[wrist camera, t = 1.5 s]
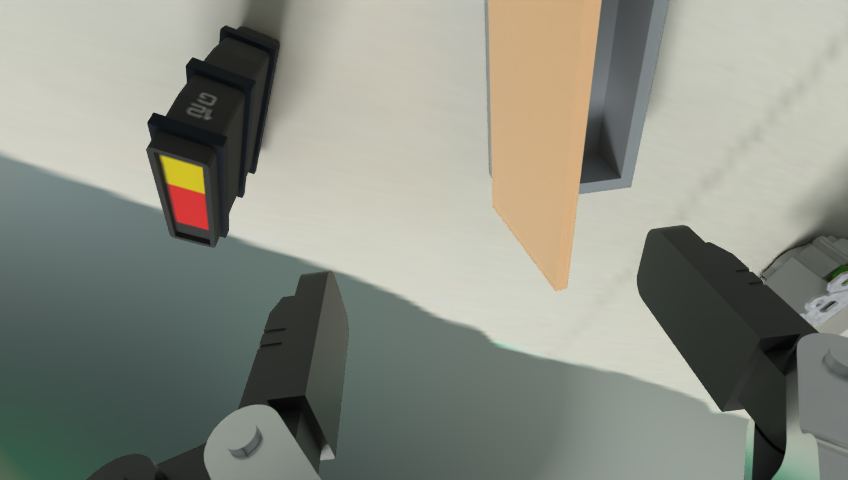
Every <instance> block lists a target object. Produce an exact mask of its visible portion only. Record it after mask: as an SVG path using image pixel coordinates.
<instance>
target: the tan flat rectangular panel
mask: <svg viewBox="0 0 848 480" xmlns="http://www.w3.org/2000/svg"><path fill="white" fill-rule="evenodd" d="M601 2H602V0H488V19H489V65H490V110H491V156H492V202H493V208H494V209H495V211H496V212H497V213H498V215H499V216H500V217H501V219H502V220H503V221H504V223H505V224H506V225H507V227H508V228H509V229H510V231H511V232H512V233H513V235H514V236H515V237H516V239H517V240H518V241H519V243H520V244H521V245H522V247H523V248H524V250H525V251H526V252H527V254H528V255H529V256H530V258H531V259H532V260H533V262H534V263H535V264H536V266H537V267H538V268H539V270H540V271H541V272H542V274H543V275H544V276H545V278H546V279H547V280H548V282H549V283H550V284H551V286H552V287H553V288H554V290H555V291H558V290H562V289H566V288H567V285H568V277H569V268H570V260H571V252H572V243H573V235H574V227H575V218H576V210H577V202H578V194H579V185H580V177H581V169H582V160H583V152H584V144H585V135H586V127H587V119H588V110H589V102H590V94H591V85H592V77H593V69H594V60H595V52H596V44H597V35H598V27H599V19H600V10H601Z"/></svg>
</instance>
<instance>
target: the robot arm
mask: <svg viewBox="0 0 848 480" xmlns="http://www.w3.org/2000/svg"><path fill="white" fill-rule="evenodd" d="M637 286H638V291H639V294H640V296H641V298H642V300H643V301H644V303H645V304H646V305H647V307H648V308H649V310H650V311H651V312H652V314H653V315H654V317H655V318H656V320H657V321H658V322H659V324H660V325H661V327H662V328H663V329H664V331H665V332H666V334H667V335H668V336H669V338H670V339H671V341H672V342H673V344H674V345H675V346H676V348H677V349H678V351H679V352H680V353H681V355H682V356H683V358H684V359H685V360H686V362H687V363H688V365H689V366H690V368H691V369H692V370H693V372H694V373H695V375H696V376H697V377H698V379H699V380H700V382H701V383H702V385H703V386H704V387H705V389H706V390H707V392H708V393H709V394H710V396H711V397H712V399H713V400H714V401H715V403H716V404H717V406H718V407H719V409H720V410H721V411H722V412H725V411H733V410H741V409H745V410H746V411H747V413H748V414H749V415H750V416H751V420H750V421H749V423H748V426H747V437H746V452H745V469H744V480H848V338H847V337H844V336H840V335H836V334H829V333H819V332H818V331H817V330H816V329H815V328H814V327H813V326H812V325H810V324H809V323H808V322H807V321H806V320H805V319H804V318H803V317H802V316H801V315H799V314H798V313H797V312H796V311H795V310H794V309H793V308H792V307H791V306H790V305H788V304H787V303H786V302H785V301H784V300H783V299H782V298H781V297H780V296H778V295H777V294H776V293H775V292H774V291H773V290H772V289H771V288H770V287H769V286H767V285H764V284H763V281H762V280H761V279H760V278H759V277H758V276H756V275H755V274H754V273H753V272H749V268H748V267H746V266H745V265H744V264H743V263H742V262H741V261H740V260H739V259H738V258H737V257H735V256H734V255H733V254H732V253H730V252H728V251H726V250H724V249H722V248H720V247H718V246H716V245H714V244H712V243H711V242H707V243H705V242H704V241H703V240H702V239H701V238H700V237H699V236H698V235H697V234H696V233H695V232H694V231H692V230H691V229H690V228H689V227H688V226H685V225H679V226H672V227H664V228H657V229H652V230H650V231H649V232H648V234H647V237H646V241H645V245H644V249H643V253H642V258H641V262H640V266H639V270H638V274H637ZM348 337H349V326H348V318H347V314H346V310H345V307H344V304H343V301H342V297H341V294H340V291H339V288H338V285H337V282H336V279H335V276H334V274H333V272H332V271H324V272H317V273H309V274H302V275H301V276H300V279H299V282H298V286H297V290H296V293H295V296H289V297H283V298H282V299H281V300H280V301H279V303H278V304H277V305H276V306H275V308H274V309H273V310H272V311H271V312H270V314H269V317H268V320H267V323H266V326H265V329H264V334H263V336H262V338H261V341H260V349H258V351H257V354H256V357H255V360H254V363H253V366H252V369H251V372H250V375H249V378H248V381H247V384H246V387H245V390H244V394H243V396H242V399H241V403H240V405H239V408H238V410H237V411H235V412H233V413H232V414H230V415H229V416H227V417H226V418H225V419H224V420H223V421H222V422H220V423H219V425H218V426H217V427H216V428H215V429H214V431H213V432H212V434H211V435H210V437H209V439H208V441H207V442H206V443H204V444H202V445H200V446H198V447H196V448H194V449H192V450H189V451H187V452H185V453H182V454H180V455H178V456H175V457H173V458H171V459H168V460H166V461H164V462H162V463H159V464H157V465H156V464H155V463H154V462H153V461H152V460H151V459H150V458H148V457H147V456H144V455H141V454H132V455H126V456H122V457H120V458H117V459H115V460H113V461H111V462H109V463H107V464H106V465H104V466H103V467H101V468H100V469H99V470H97V471H96V472H95V473H93V474H92V475H91V476H90V477H89V478H88V479H87V480H321V479H320V478H319V476H318V472H319V465H320V460H328V459H335V458H336V449H337V439H338V430H339V421H340V411H341V402H342V393H343V384H344V374H345V365H346V356H347V346H348Z"/></svg>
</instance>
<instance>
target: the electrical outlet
mask: <svg viewBox="0 0 848 480" xmlns="http://www.w3.org/2000/svg"><path fill="white" fill-rule="evenodd" d="M812 243H813V244H811V243H808V244H807V245H805V246H801V247H797V248H794V249H791V250H789V251H787V252H786V253H784V254H783V255H781V256H780V257H779V258H778V259H777V260H775V262H774V263H773V264H772V265H771V266H770V267H769V268H768V269H767V270H766V271H765V272H764V273H763V274H762V275H763V276H764V277H765V278H766V279H767V280H766V281H765V282H764V283H763V284H764V285H767V286H769V287H770V288H771V289H772V290H773V291H774V292H775V293H776V294H777V295H778V296H780V297H781V298H782V299H783V300H784V301H785V302H786V303H787V304H788V305H790V306H791V307H792V308H793V309H794V310H795V311H796V312H797V313H798V314H799V315H801V316H802V317H803V318H804V319H805V320H806V321H807V322H808V323H809V324H810V325H812V326H813V327H814V328H815V329H816V330H817V331H818V332H819V333H829V334H836V335H840V336H844V337H847V338H848V240H847V239H844V238H843V237H840V238H835V237H834V236H832V235H830V236H828V237H824V236H821V237H819V236H818V237H817V238H816V239H815V240H814V241H813V242H812Z"/></svg>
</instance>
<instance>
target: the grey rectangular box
mask: <svg viewBox="0 0 848 480" xmlns="http://www.w3.org/2000/svg"><path fill="white" fill-rule="evenodd" d="M668 3H669V0H602V2H601V10H600V19H599V27H598V35H597V44H596V52H595V60H594V69H593V77H592V85H591V94H590V102H589V110H588V119H587V127H586V135H585V144H584V152H583V160H582V169H581V177H580V185H579V194H584V193H591V192H599V191H606V190H614V189H621V188H629V187H631V184H632V180H633V175H634V170H635V165H636V160H637V155H638V150H639V145H640V140H641V135H642V131H643V126H644V121H645V116H646V111H647V106H648V101H649V96H650V91H651V87H652V82H653V77H654V72H655V67H656V62H657V57H658V52H659V47H660V42H661V38H662V33H663V28H664V23H665V18H666V13H667V8H668ZM485 36H486V74H487V112H488V150H489V173H490V176H491V178H492V156H491V110H490V65H489V19H488V0H485Z"/></svg>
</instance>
